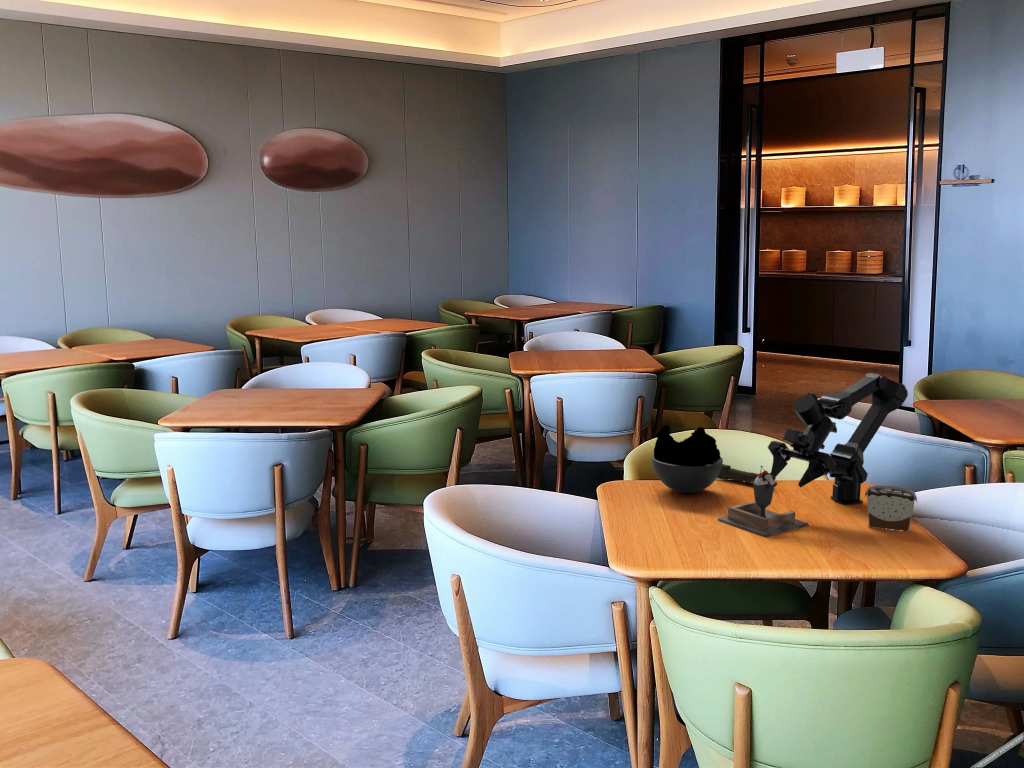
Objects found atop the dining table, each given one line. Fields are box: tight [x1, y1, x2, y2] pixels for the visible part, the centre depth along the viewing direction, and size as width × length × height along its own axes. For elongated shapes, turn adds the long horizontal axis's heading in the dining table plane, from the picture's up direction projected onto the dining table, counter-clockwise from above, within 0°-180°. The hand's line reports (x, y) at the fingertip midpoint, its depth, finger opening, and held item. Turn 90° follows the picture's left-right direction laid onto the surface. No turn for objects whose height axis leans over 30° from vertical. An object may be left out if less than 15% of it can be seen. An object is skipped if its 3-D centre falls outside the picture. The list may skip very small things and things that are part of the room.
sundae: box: [751, 465, 778, 518], centre depth 240 cm, size 7×7×15 cm
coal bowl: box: [651, 424, 724, 494], centre depth 267 cm, size 20×20×19 cm
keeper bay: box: [717, 500, 809, 538], centre depth 241 cm, size 16×16×4 cm
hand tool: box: [716, 463, 759, 485], centre depth 279 cm, size 19×4×5 cm, turn 43°
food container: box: [864, 484, 918, 532], centre depth 237 cm, size 12×6×10 cm, turn 65°
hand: (785, 482), depth 244 cm, fingers open, 9 cm apart
